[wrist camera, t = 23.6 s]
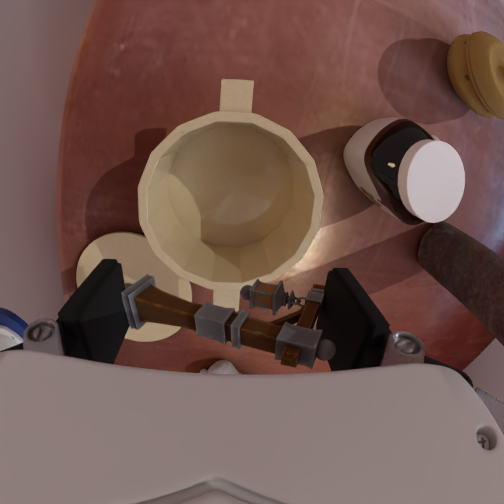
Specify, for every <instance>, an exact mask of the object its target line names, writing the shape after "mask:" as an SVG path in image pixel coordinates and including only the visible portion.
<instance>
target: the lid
mask: <svg viewBox="0 0 504 504" xmlns="http://www.w3.org/2000/svg"><path fill="white" fill-rule="evenodd" d="M102 259H116V260H117V261H118V263H121V265H122V270H123V277H124V284H125V289H127V288H128V287H130V286H131V285H132V284H134V283H135V282H136V281H138V280H139V279H141V278H142V277H143V276H145V275H146V274H149V275H150V276H154V278H155V284H156V287H157V288H159V289H160V290H162V291H164V292H167V293H169V294H172V295H174V296H177V297H179V298H182V299H184V300H187V301H189V302H192V288H191V284H190V281H188V280H185V279H183V278H180V277H179V276H177V275H176V274H175V273H174V272H173V271H172V270H171V269H170V268H169V267H167V266H166V265H165V264H164V263H163V262H162V261H161V260H160V259H159V258H158V257H157V256H156V255H155V254H154V253H153V251H152V249H151V247H150V245H149V243H148V241H147V239H146V236H144V235H141V234H137V233H133V232H113V233H108V234H106V235H103V236H101V237H99V238H97V239H95V240H94V241H93V242H92V243H90V244H89V245H88V247H87V248H86V249H85V250H84V252H83V253H82V255H81V257H80V259H79V262H78V266H77V272H76V280H77V287H79V286H80V285H81V284H82V282H83V281H84V280H85V279H86V278H87V277H88V275H89V274H90V273H91V272H92V271H93V270H94V268H95V267H96V266H97V265H98V264H99V263H100V262H101V260H102ZM180 328H181V327H178V326H171V325H165V324H158V323H150V322H147V323H145V324H144V325H143V326H142V327H141V328H140V329H139V330H137V329H131V328H130V326H129V328H128V331H127V333H126V335H125V338H126V339H130V340H135V341H144V342H148V341H157V340H161V339H164V338H167V337H169V336H171V335H172V334H174V333H175V332H177V331H178V330H179V329H180Z"/></svg>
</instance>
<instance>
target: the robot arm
mask: <svg viewBox="0 0 504 504" xmlns="http://www.w3.org/2000/svg"><path fill="white" fill-rule="evenodd" d="M124 290H125V284H124V277H123V270H122V265H121V263H118V261H117V260H116V259H102V260H101V262H100V263H99V264H98V265H97V266H96V267H95V268H94V270H93V271H92V272H91V273H90V274H89V275H88V277H87V278H86V279H85V280H84V281H83V282H82V284H81V285H80V286H79V287H78V289H77V290H76V291H75V292H74V293H73V295H72V296H71V297H70V298H69V300H68V301H67V302H66V303H65V305H64V306H63V307H62V309H61V310H60V311H59V312H58V316H59V318H58V319H57V320H56V321H54V320H52V319H39V320H37V321H35V322H33V323H31V324H30V325H29V326H28V327H27V328H26V329H25V331H24V335H23V339H22V338H21V337H20V336H19V335H18V334H17V333H16V332H14V331H13V330H12V329H10V328H8V327H6V326H3V325H0V504H504V403H503V402H502V401H500V400H498V399H497V398H495V397H493V396H491V395H490V394H488V393H487V392H485V391H483V390H481V389H480V388H478V387H477V388H476V389H475V390H474V389H473V384H472V381H471V379H470V378H469V376H468V375H467V374H466V373H464V372H463V371H460V370H458V369H455V368H453V367H450V366H448V365H446V364H443V363H441V362H438V361H436V360H434V359H431V358H429V357H427V356H424V352H425V348H424V344H423V343H422V341H421V340H420V339H419V338H418V337H417V336H415V335H413V334H411V333H409V332H405V331H396V332H393V333H392V332H391V331H390V329H389V326H390V325H389V323H388V322H387V321H386V319H385V318H384V316H383V315H382V314H381V312H380V311H379V309H378V308H377V307H376V305H375V304H374V303H373V301H372V300H371V299H370V297H369V296H368V294H367V293H366V292H365V290H364V289H363V288H362V286H361V285H360V284H359V282H358V281H357V280H356V279H355V277H354V276H353V275H352V273H351V272H350V271H349V269H348V268H333V270H332V271H329V272H328V275H327V280H326V284H325V289H324V300H323V306H322V311H321V314H320V317H318V320H317V324H316V330H322V335H321V340H323V339H327V340H330V341H332V342H333V343H334V345H335V347H336V353H335V355H334V356H333V357H332V358H331V359H330V360H328V363H329V366H330V368H331V372H318V373H300V374H272V375H233V374H205V373H188V372H174V371H163V370H153V369H144V368H136V367H128V366H121V365H114V361H115V359H116V356H117V354H118V352H119V349H120V347H121V345H122V342H123V340H124V338H125V335H126V333H127V331H128V328H129V326H130V325H129V321H128V318H127V315H126V311H125V307H124V304H123V299H122V294H121V293H122V292H123V291H124Z"/></svg>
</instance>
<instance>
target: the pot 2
mask: <svg viewBox="0 0 504 504" xmlns="http://www.w3.org/2000/svg"><path fill="white" fill-rule="evenodd" d="M447 70H448V75H449V78H450V81H451V84H452V86H453V88H454V90H455V91H456V93H457V95H458V96H459V97H460V99H461V100H462V101H463V102H464V103H465V104H466V105H467V106H468V107H469V108H470V109H471V110H473V111H474V112H475V113H477V114H479V115H481V116H483V117H487V118H492V117H497V118H500V119H504V44H503V43H502V42H501V41H500V40H498V39H497V38H496V37H494V36H493V35H491V34H489V33H487V32H481V31H480V32H475V33H472V34H471V35H469V34H463V35H460V36H458V37H457V38H456V39H455V40H454V41H453V42H452V44H451V46H450V48H449V50H448V54H447Z"/></svg>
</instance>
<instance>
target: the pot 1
mask: <svg viewBox="0 0 504 504" xmlns="http://www.w3.org/2000/svg"><path fill="white" fill-rule="evenodd" d="M253 85H254V81H253V80H237V79H222V82H221V95H220V108H219V111H216V112H212V113H209V114H206V115H204V116H201V117H198V118H196V119H193V120H191V121H188V122H186V123H183V124H181V125H179V126H177V127H176V128H175V129H174V130H173V131H172V132H171V133H170V134H169V135H168V136H167V137H166V138H165V139H164V140H163V141H162V142H161V143H160V144H159V145H158V146H157V147H156V148H155V149H154V150H153V151H152V152H151V154H150V156H149V159H148V161H147V164H146V166H145V169H144V171H143V174H142V177H141V179H140V182H139V185H138V210H139V222H140V226H141V228H142V230H143V232H144V234H145V236H146V239H147V241H148V243H149V245H150V247H151V249H152V251H153V253H154V254H155V255H156V256H157V257H158V258H159V259H160V260H161V261H162V262H163V263H164V264H165V265H166V266H167V267H169V268H170V269H171V270H172V271H173V272H174V273H175V274H176V275H177V276H179V277H180V278H183V279H185V280H188V281H190V282H193V283H195V284H198V285H200V286H202V287H205V288H208V289H212V290H213V305H217V306H221V307H225V308H235V311H239V296H240V290H241V288H242V287H243V286H245V285H250V286H252V285H253V284H254V283H255V281H256V280H257V279H259V281H261V282H264V283H268V282H271V281H274V280H276V279H277V278H278V277H280V276H281V275H282V274H284V273H285V272H286V271H287V270H289V269H290V268H291V267H292V266H294V265H295V264H296V263H298V262H299V261H300V260H301V259H302V258H303V256H304V255H305V253H306V251H307V250H308V248H309V246H310V244H311V243H312V241H313V239H314V238H315V236H316V234H317V233H318V231H319V227H320V220H321V213H322V206H323V199H324V193H323V189H322V186H321V182H320V178H319V175H318V171H317V167H316V164H315V161H314V159H313V158H312V157H311V155H310V154H309V153H308V152H307V150H306V149H305V148H304V147H303V145H302V144H301V143H300V142H299V140H298V139H297V138H296V137H295V136H294V134H293V133H292V132H291V131H290V130H288V129H286V128H284V127H282V126H280V125H278V124H276V123H274V122H272V121H270V120H268V119H266V118H264V117H262V116H260V115H258V114H255V113H251V111H252V98H253Z"/></svg>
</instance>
